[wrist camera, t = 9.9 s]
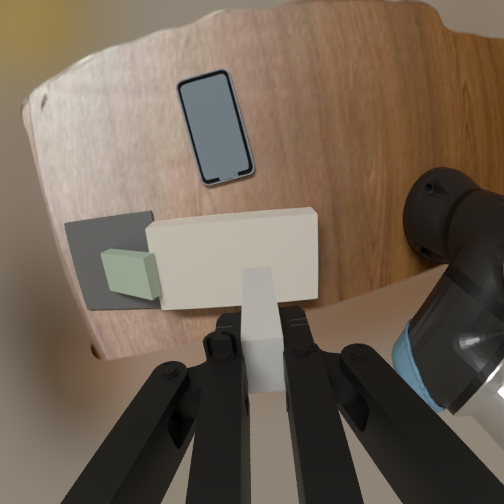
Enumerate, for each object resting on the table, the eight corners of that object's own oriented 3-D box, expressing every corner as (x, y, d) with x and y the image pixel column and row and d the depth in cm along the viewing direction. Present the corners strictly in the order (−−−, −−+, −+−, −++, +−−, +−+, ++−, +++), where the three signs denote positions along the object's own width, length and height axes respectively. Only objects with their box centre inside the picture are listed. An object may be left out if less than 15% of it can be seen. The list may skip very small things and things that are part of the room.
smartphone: (228, 66, 35) (256, 173, 40) (228, 68, 36) (256, 172, 41) (173, 82, 35) (202, 187, 40) (175, 83, 36) (203, 186, 41)
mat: (151, 210, 42) (150, 211, 41) (169, 305, 47) (169, 306, 46) (65, 223, 42) (64, 223, 41) (88, 308, 47) (87, 309, 46)
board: (311, 207, 42) (317, 213, 38) (312, 285, 46) (317, 298, 42) (153, 221, 42) (145, 228, 38) (167, 296, 46) (162, 310, 43)
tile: (153, 252, 39) (143, 258, 38) (161, 293, 41) (152, 300, 40) (110, 248, 43) (100, 253, 41) (118, 284, 45) (109, 290, 43)
